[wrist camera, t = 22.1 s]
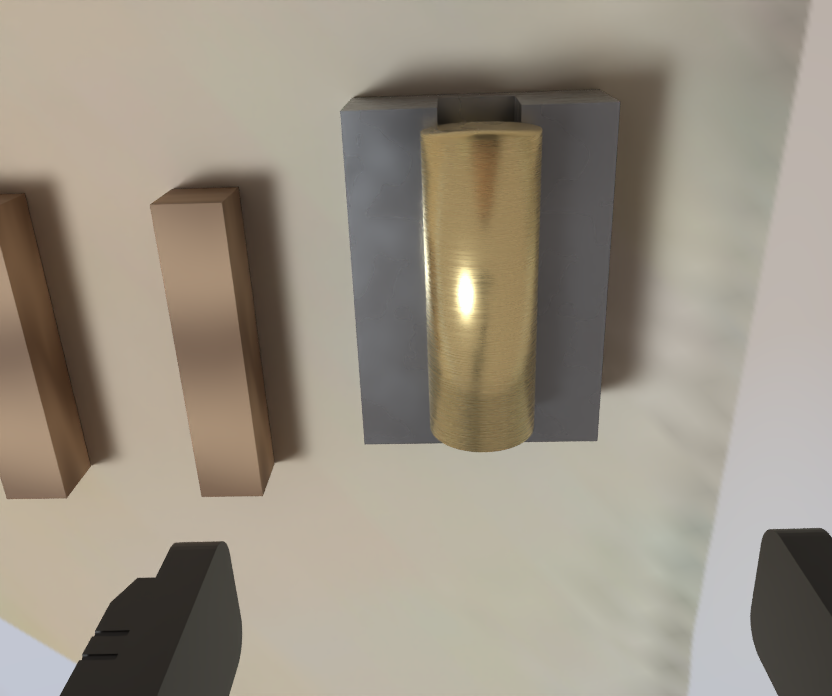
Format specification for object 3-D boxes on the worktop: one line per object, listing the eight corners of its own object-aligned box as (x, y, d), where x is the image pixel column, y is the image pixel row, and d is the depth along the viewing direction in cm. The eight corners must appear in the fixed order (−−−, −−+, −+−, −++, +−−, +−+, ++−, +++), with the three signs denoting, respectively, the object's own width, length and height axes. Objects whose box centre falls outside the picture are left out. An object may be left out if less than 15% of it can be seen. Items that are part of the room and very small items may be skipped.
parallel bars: (274, 463, 34) (262, 496, 32) (34, 466, 34) (6, 498, 32) (238, 187, 29) (221, 202, 27) (-41, 195, 29) (-80, 211, 27)
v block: (582, 396, 32) (597, 441, 29) (372, 399, 32) (364, 444, 29) (599, 89, 27) (620, 101, 24) (352, 97, 27) (340, 111, 24)
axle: (533, 401, 29) (534, 453, 25) (435, 399, 29) (424, 450, 26) (541, 120, 25) (544, 139, 21) (426, 122, 25) (413, 141, 22)
